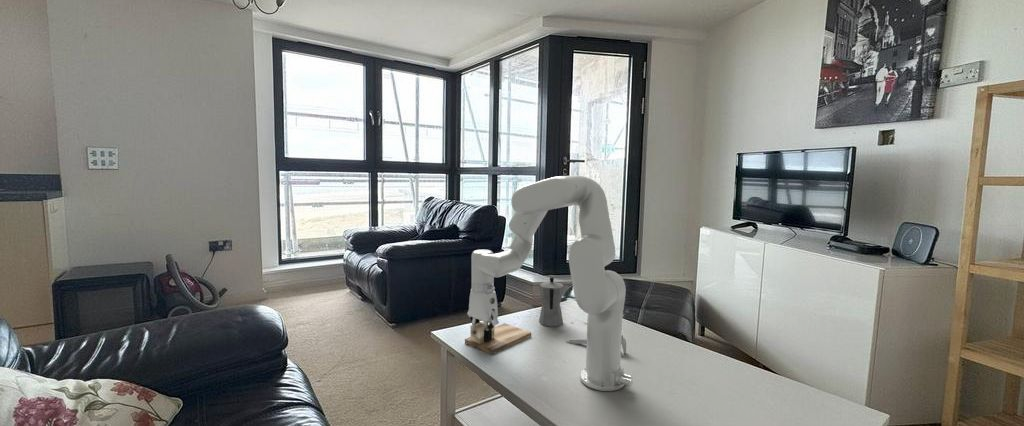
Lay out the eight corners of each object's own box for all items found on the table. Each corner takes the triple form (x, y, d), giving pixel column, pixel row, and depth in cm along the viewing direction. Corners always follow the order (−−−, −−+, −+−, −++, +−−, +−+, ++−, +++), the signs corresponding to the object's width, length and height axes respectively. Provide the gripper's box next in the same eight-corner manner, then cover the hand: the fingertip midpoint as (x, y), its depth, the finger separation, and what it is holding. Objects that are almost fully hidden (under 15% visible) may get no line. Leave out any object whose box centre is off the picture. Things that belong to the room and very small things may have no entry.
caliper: (626, 353, 138) (626, 335, 137) (625, 354, 137) (626, 336, 136) (566, 341, 147) (567, 324, 146) (565, 342, 146) (566, 325, 145)
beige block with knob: (496, 336, 146) (496, 322, 145) (477, 344, 139) (477, 330, 139) (487, 333, 149) (487, 319, 148) (468, 341, 142) (468, 326, 142)
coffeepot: (539, 316, 171) (540, 272, 169) (562, 316, 170) (563, 273, 168) (538, 330, 156) (538, 283, 154) (563, 331, 155) (564, 284, 153)
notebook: (531, 336, 150) (531, 332, 150) (491, 354, 135) (491, 350, 135) (504, 327, 159) (504, 323, 159) (464, 343, 144) (464, 338, 144)
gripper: (508, 289, 139) (508, 342, 141) (473, 279, 150) (473, 328, 152) (492, 294, 134) (492, 349, 136) (457, 283, 145) (457, 334, 147)
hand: (482, 337), depth 144 cm, fingers closed on beige block with knob, 4 cm apart
